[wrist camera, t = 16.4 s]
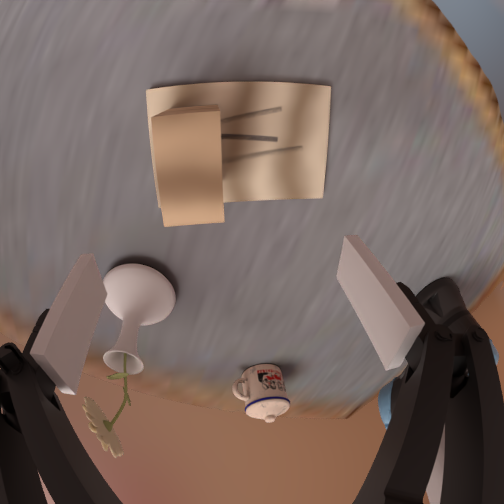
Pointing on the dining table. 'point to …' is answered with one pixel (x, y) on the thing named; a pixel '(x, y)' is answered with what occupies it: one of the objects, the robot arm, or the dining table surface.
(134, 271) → the flower in vase
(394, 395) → the robot arm
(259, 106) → the board
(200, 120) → the block
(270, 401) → the teacup with lid
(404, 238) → the dining table surface
